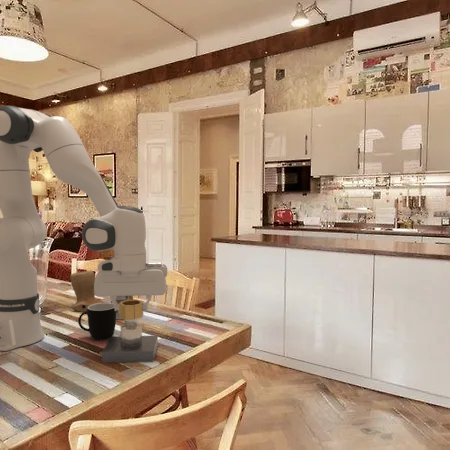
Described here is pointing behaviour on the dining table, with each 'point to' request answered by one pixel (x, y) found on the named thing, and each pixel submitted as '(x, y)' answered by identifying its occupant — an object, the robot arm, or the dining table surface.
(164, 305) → the dining table surface
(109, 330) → the mug
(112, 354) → the grey plate with knob
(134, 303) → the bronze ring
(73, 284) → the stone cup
